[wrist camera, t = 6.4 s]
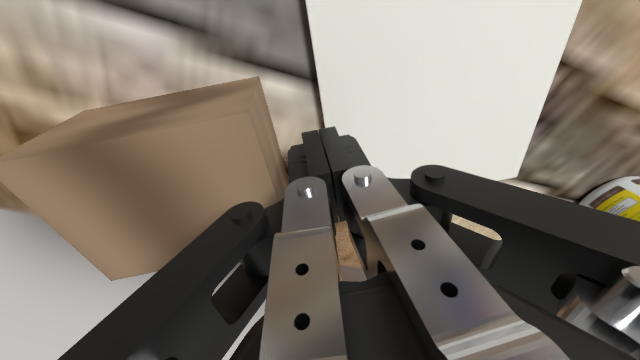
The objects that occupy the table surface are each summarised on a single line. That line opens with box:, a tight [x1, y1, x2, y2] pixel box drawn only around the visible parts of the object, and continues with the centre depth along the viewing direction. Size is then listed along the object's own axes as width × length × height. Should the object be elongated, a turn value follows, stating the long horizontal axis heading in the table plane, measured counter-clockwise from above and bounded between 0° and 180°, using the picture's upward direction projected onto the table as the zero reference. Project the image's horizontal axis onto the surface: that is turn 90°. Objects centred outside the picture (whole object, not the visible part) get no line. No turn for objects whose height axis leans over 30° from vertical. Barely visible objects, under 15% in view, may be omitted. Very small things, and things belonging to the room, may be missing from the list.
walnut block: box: [0, 76, 289, 281], centre depth 11 cm, size 8×6×5 cm
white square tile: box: [305, 0, 582, 181], centre depth 13 cm, size 12×12×1 cm
